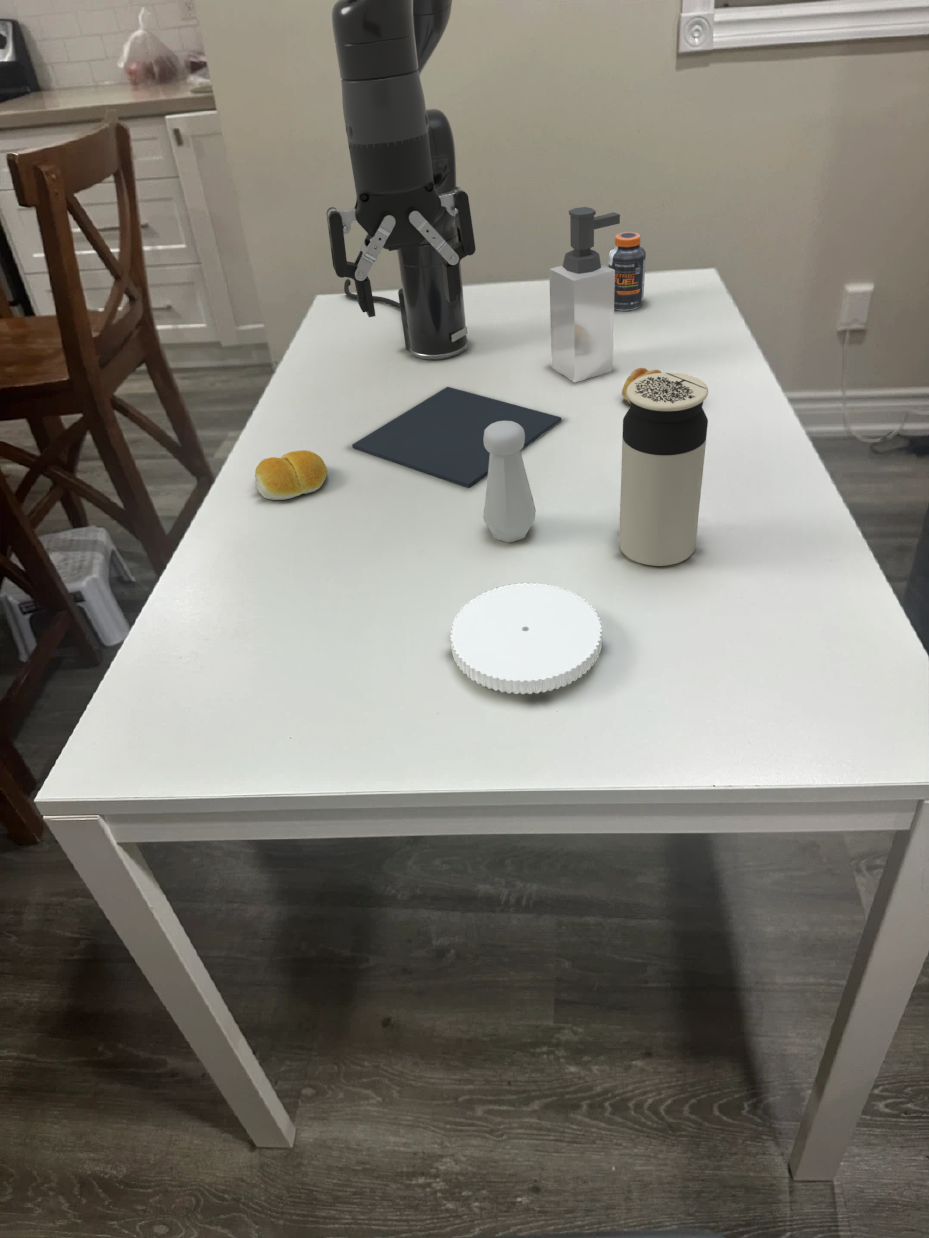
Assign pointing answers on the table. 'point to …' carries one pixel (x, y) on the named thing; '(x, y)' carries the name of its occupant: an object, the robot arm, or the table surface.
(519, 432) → the salt shaker
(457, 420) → the mat
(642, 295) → the pill bottle
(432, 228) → the robot arm
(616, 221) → the soap dispenser
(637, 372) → the pastry
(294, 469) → the bread roll
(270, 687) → the table surface
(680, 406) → the travel mug
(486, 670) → the plastic lid
